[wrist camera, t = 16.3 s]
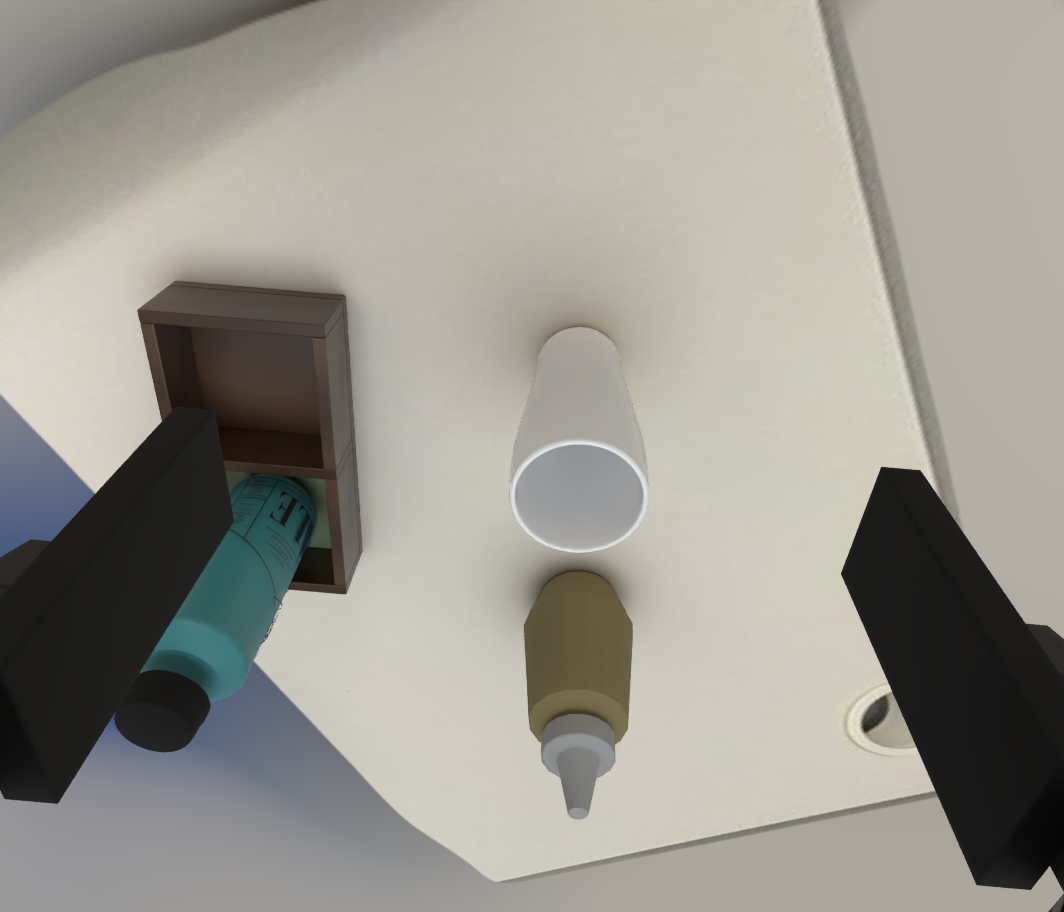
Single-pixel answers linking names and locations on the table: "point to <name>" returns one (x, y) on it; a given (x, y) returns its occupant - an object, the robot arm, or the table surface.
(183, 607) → the beverage bottle
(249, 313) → the divided box
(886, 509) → the robot arm
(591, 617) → the squeeze bottle
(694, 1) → the table surface
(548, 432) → the drinking glass
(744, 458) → the table surface
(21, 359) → the table surface
